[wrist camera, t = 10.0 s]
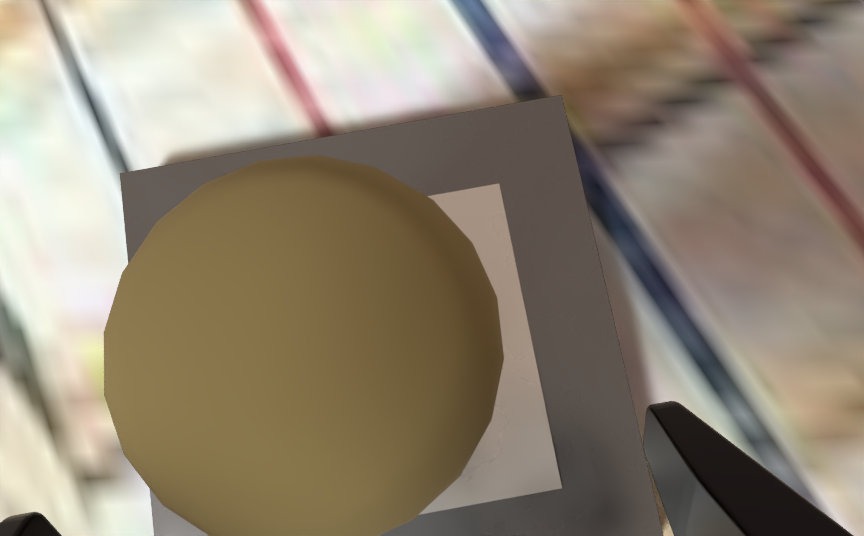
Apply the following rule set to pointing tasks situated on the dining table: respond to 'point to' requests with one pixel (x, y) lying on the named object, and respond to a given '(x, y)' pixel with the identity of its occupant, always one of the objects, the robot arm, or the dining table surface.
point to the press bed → (518, 311)
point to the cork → (302, 352)
